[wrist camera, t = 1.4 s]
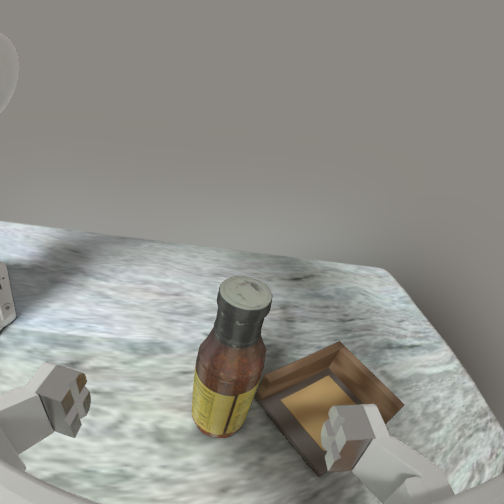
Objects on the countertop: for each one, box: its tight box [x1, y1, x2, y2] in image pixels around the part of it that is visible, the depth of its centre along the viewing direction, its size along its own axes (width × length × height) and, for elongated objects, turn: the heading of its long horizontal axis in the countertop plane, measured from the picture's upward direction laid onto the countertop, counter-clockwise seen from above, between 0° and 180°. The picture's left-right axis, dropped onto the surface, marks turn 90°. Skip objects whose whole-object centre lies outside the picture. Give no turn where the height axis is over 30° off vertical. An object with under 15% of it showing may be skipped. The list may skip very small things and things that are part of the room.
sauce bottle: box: [192, 276, 272, 438], centre depth 28 cm, size 6×6×20 cm
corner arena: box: [255, 341, 404, 476], centre depth 35 cm, size 14×14×5 cm
